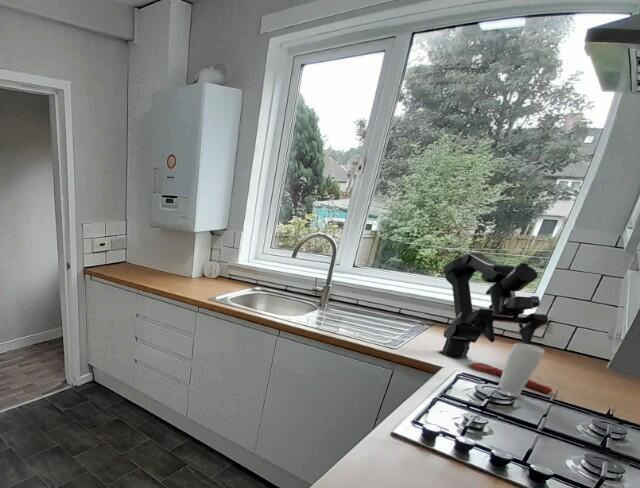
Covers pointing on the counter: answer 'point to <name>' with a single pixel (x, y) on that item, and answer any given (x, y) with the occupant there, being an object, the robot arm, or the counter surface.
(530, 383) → the red long flat piece
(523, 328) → the robot arm
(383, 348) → the counter surface
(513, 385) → the drinking glass
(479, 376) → the counter surface
